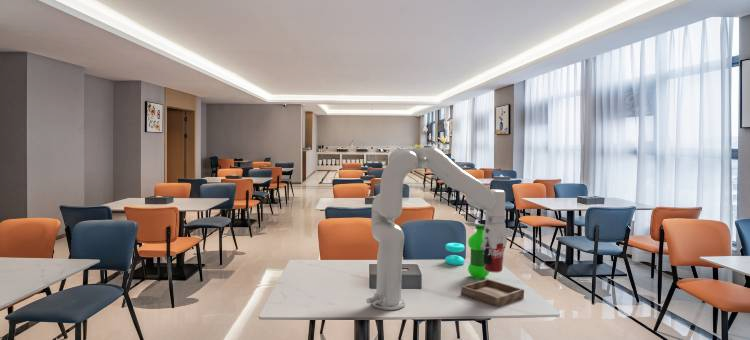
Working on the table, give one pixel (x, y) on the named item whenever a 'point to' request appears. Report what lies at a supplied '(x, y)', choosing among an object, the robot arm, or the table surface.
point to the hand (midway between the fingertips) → (493, 262)
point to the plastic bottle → (477, 254)
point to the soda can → (495, 259)
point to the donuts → (454, 258)
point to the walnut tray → (492, 292)
